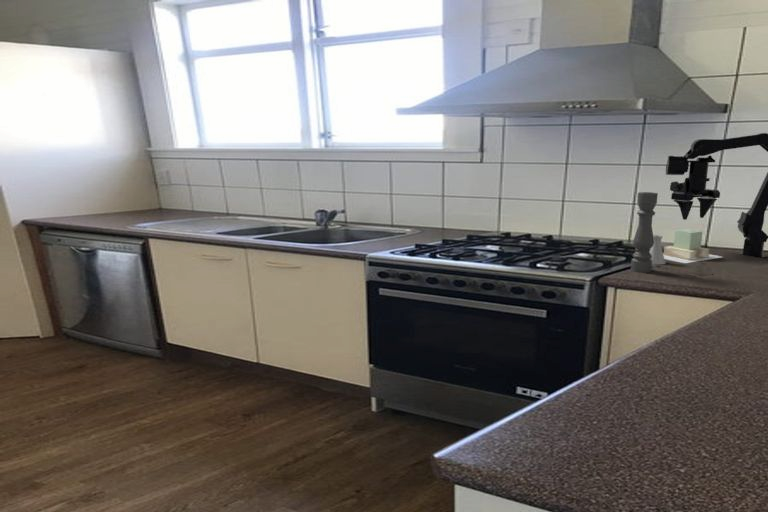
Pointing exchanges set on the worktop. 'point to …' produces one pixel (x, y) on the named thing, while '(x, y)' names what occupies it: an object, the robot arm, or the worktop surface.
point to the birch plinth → (686, 253)
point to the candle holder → (644, 233)
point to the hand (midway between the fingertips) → (693, 218)
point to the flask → (657, 252)
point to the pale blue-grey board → (689, 260)
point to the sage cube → (688, 239)
